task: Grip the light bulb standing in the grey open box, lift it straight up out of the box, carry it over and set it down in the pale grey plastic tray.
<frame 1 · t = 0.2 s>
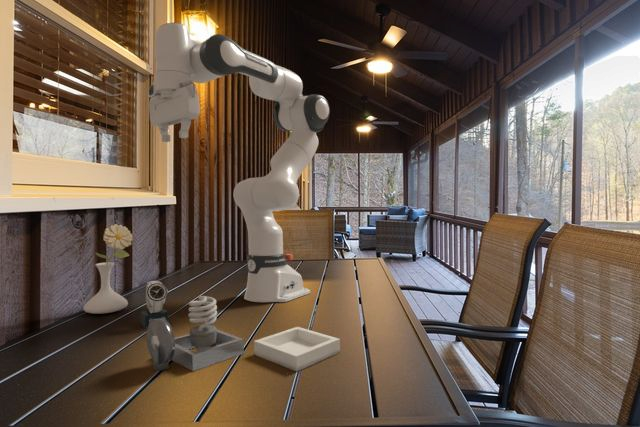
hand: (174, 139, 106), 48 cm above the table, tool pointing down, fingers open, 8 cm apart
watch: (154, 324, 103), on the table
tray: (297, 353, 82), on the table
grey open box: (203, 354, 82), on the table
flower in vase: (109, 311, 116), on the table
light bulb: (203, 355, 82), resting in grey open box
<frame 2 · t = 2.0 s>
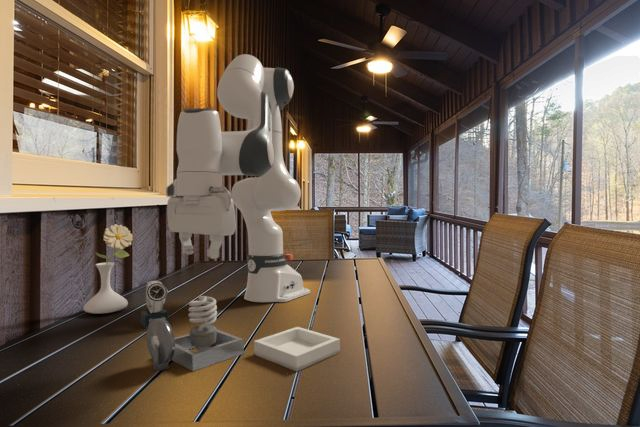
hand: (200, 256, 82), 20 cm above the table, tool pointing down, fingers open, 8 cm apart
nothing on the table moved.
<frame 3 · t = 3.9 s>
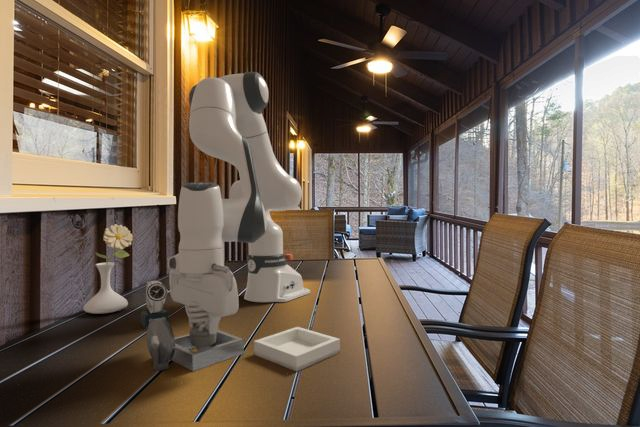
hand: (203, 329, 82), 5 cm above the table, tool pointing down, fingers closed on light bulb, 5 cm apart
light bulb: (203, 355, 82), resting in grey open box, touching gripper
everything else where it was.
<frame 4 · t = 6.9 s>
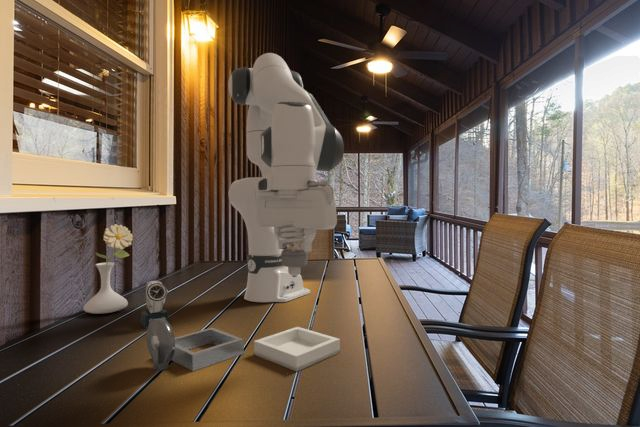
hand: (294, 250, 82), 21 cm above the table, tool pointing down, fingers closed on light bulb, 5 cm apart
light bulb: (294, 277, 82), point 16 cm above the table, touching gripper
everything else where it was.
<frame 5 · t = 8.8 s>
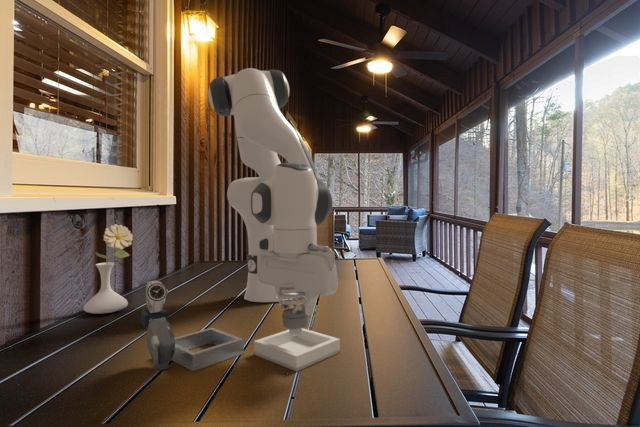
hand: (295, 310, 82), 9 cm above the table, tool pointing down, fingers closed on light bulb, 5 cm apart
light bulb: (295, 338, 82), point 3 cm above the table, touching gripper
everything else where it was.
when the fingers open (8 cm above the table, at t = 9.6 s): light bulb drops 1 cm, resting on tray.
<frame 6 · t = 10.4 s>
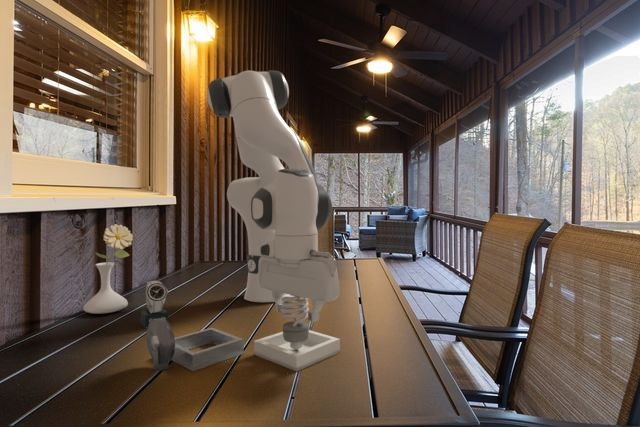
hand: (297, 316, 82), 8 cm above the table, tool pointing down, fingers open, 8 cm apart
light bulb: (296, 351, 82), resting on tray
everything else where it was.
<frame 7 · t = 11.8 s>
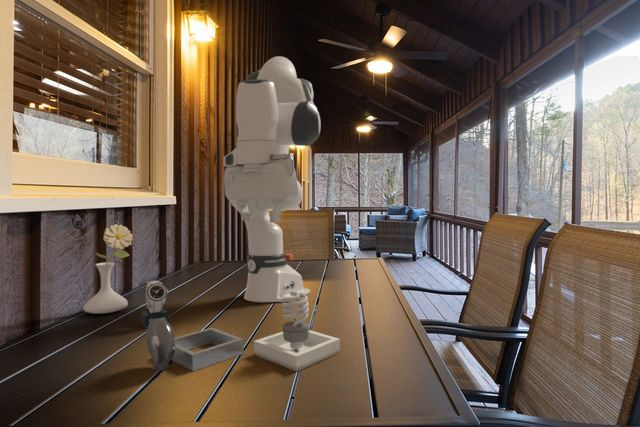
hand: (260, 221, 86), 27 cm above the table, tool pointing down, fingers open, 8 cm apart
nothing on the table moved.
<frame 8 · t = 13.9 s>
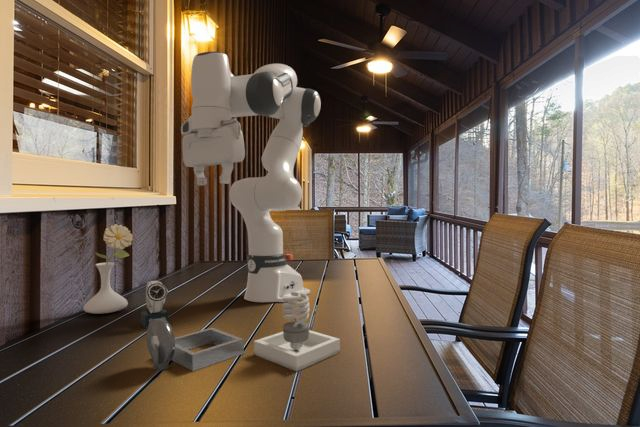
hand: (213, 184, 92), 35 cm above the table, tool pointing down, fingers open, 8 cm apart
nothing on the table moved.
at the end: light bulb 0.2 cm from the tray (horizontally); light bulb resting on tray; the gripper is holding nothing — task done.
